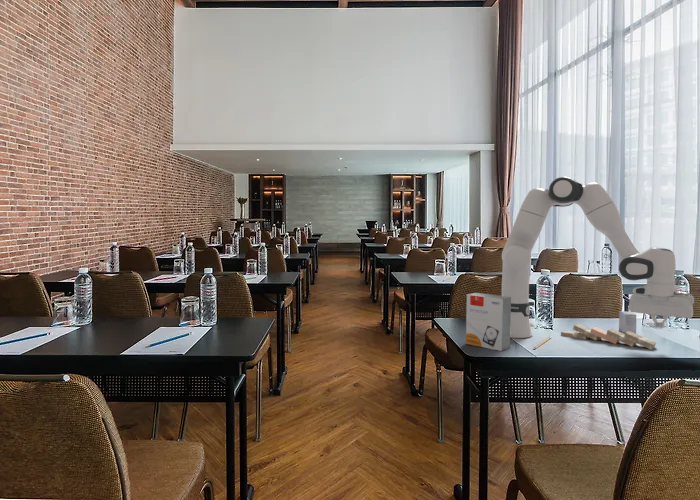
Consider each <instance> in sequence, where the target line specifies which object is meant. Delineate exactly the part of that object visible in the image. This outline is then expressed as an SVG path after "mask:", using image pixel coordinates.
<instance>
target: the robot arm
mask: <svg viewBox="0 0 700 500" xmlns="http://www.w3.org/2000/svg"><path fill="white" fill-rule="evenodd" d="M573 204H576V205H577V206H579V208H581V210H582V211H583V213H584V215H585V217H586V219H587V220H588V221H589V224H590V225H592V226H593V228H594V229H595V230H596V231H598V232H600V233H601V234H602V235H604V236H605V237H607V238H608V240H610V242H611V244H612V246H613V247H614V249H615V251H616V252H617V254H618V256H619V257H620V263H619V265H618V271H619V274H620V275H621V277H623V278H624V279H626V280H629V281H640V280H646V285H640V286H636V287H634V288H632V294H631V296H630V298H629V303H628V310H629V312H631V313H637V314H646V315H650V316H651V317H650V318H651V319H652V321H653V322H654V327H655V328H663V329H664V328H665V325H666V324H665V323H666V322H667V320H668V319H669V317H671V318H682V319H692V317H693V316H694V308H693V307H694V306H693V305H694V304H695V296H694V295H693V294H691V293H690V292H682V291H676V289H675V288H676V281H675V274H676V271H677V270H676V269H677V268H676V266H677V264H676V257H675V256H676V255H675V253H674V251H672V250H671V249H670V248H665V247H659V246H651V247H650V248H648V249H646V250H645V251H641V252H640V251H638V249H637V248H636V247H635V245H634V244H633V242H632V240H631V239H630V238H629V235H628V234H627V232H626V229H625V228H624V224H623V221H622V217H621V215H620V212H619V210H618V207H617V206H616V205H617V204H615V202H614V200H613V199H612V197H611V196H610V194H609V193H608V192H607V190H606V189H605V188H604V187H603V186H602V185H601V184H600V183H598V182H590V183H586V184H584V185H583V183H581V182H579V181H577V180H575V179H573V178H571V177H570V176H560V177H557V178H555V179H554V180H552V182H551V183H550V185H549V187H548V188H547V189H544V188H540V187H538V188H537V187H535V188H532V189H530V190H529V192H528V193H527V195H526V196H525V198H524V200H523V202H522V204H521V205H520V209H519V210H518V213H517V216H516V218H515V220H514V223H513V226H512V227H511V230H510V233H509V236H508V237H507V240H506V241H505V245H504V247H503V249H502V252H501V260H502V269H501V270H502V273H501V296H507V297H511V321H510V339H511V338H512V339H513V338H514V339H516V338H517V339H525V338H532V337H533V333H532V329H531V324H530V312H531V307H530V301H529V300H530V299H529V298H530V297H529V296H530V295H529V294H530V276H531V261H532V260H531V259H532V257H531V253H532V250H533V249H534V246H535V244H536V242H537V240H538V238H539V237H540V235H541V231H542V229H543V226H544V224H545V221H546V219H547V216H548V214H549V212H550V210H551V208H552V207H560V208H563V207H570V206H571V205H573ZM658 316H662V319H663V320H662V321H658V319H657V317H658Z"/></svg>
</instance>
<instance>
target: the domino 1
mask: <svg viewBox="0 0 700 500" xmlns="http://www.w3.org/2000/svg"><path fill="white" fill-rule="evenodd" d="M560 336H563V337H569V338H576V339H582V340H587V339H589V337H587V336H585V335H583V334H581V333H579V332H577V331H575V330H573V331H572V330H563V331H561V332H560Z"/></svg>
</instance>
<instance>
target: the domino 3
mask: <svg viewBox="0 0 700 500" xmlns="http://www.w3.org/2000/svg"><path fill="white" fill-rule="evenodd" d="M590 329H591V331H590V333H591V334H593V335H596V336H598V337H600V338H601V339H603V340H605V341H607V342H610V343H611V344H613V345H617V344H619V343H620V342H621V341H619V340H616V339H614V338H612V337H610V336H608V335H606V333H607V331H608V330H605V329H602V328H599V327H597V326H595V327H592V328H590Z"/></svg>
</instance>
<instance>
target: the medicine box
mask: <svg viewBox="0 0 700 500" xmlns="http://www.w3.org/2000/svg"><path fill="white" fill-rule="evenodd" d="M618 314H619V315H618V331H619V332H621V333H623V334H625V333H626V332H627V331H631V332H633V333H635V334H637V314H635V312H631V311H618Z"/></svg>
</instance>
